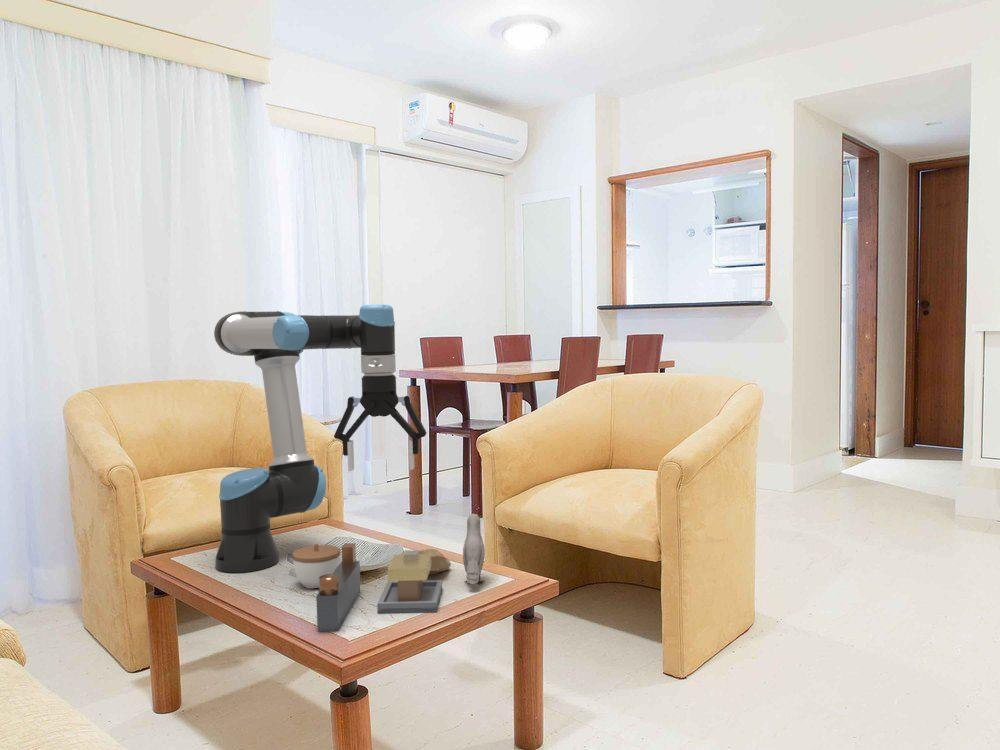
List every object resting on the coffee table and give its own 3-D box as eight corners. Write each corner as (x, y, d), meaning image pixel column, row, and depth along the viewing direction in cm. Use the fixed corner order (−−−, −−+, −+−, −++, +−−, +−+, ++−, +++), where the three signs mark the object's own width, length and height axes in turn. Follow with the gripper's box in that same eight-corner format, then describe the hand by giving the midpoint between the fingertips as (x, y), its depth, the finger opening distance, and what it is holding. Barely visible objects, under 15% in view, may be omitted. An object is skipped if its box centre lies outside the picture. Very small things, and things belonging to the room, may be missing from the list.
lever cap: (395, 566, 164) (394, 549, 163) (431, 565, 164) (431, 548, 163) (387, 581, 154) (387, 563, 153) (426, 580, 154) (426, 562, 153)
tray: (388, 590, 166) (387, 563, 166) (442, 589, 166) (441, 562, 166) (377, 613, 152) (376, 584, 152) (436, 612, 152) (435, 583, 152)
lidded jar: (351, 580, 173) (349, 540, 173) (319, 595, 164) (318, 552, 163) (315, 574, 178) (314, 535, 178) (283, 588, 169) (281, 547, 168)
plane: (342, 592, 165) (340, 543, 164) (360, 592, 165) (358, 543, 164) (317, 631, 143) (315, 575, 143) (338, 631, 143) (336, 574, 142)
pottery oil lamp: (463, 571, 178) (463, 542, 178) (430, 585, 168) (429, 555, 168) (436, 565, 183) (435, 537, 183) (401, 579, 174) (401, 549, 173)
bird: (486, 573, 176) (484, 510, 176) (483, 592, 163) (482, 524, 162) (465, 573, 177) (464, 510, 176) (461, 592, 163) (459, 525, 162)
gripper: (318, 376, 162) (321, 473, 163) (433, 374, 162) (435, 471, 163) (326, 374, 169) (329, 467, 170) (436, 372, 169) (438, 465, 170)
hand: (381, 469), depth 167 cm, fingers open, 13 cm apart
